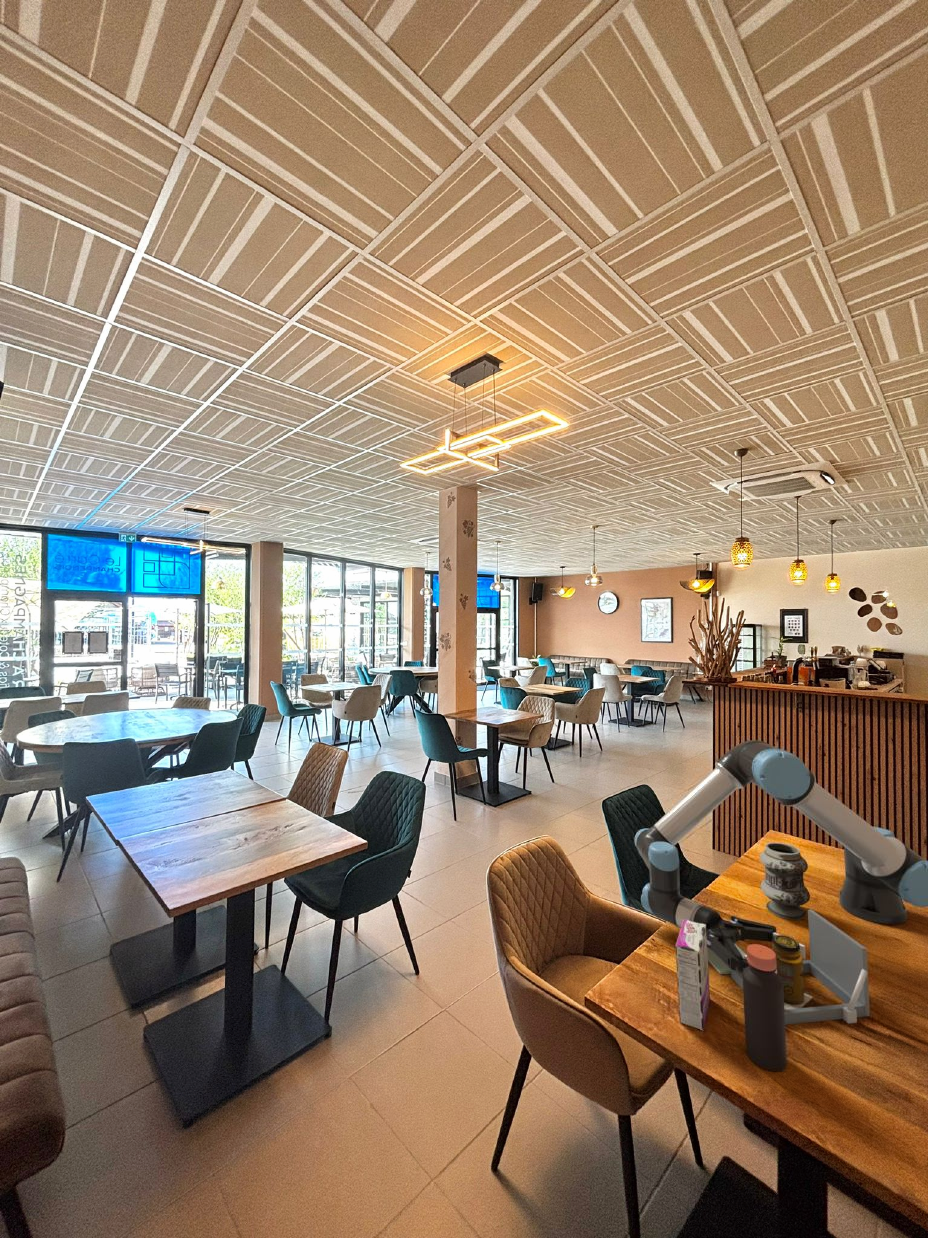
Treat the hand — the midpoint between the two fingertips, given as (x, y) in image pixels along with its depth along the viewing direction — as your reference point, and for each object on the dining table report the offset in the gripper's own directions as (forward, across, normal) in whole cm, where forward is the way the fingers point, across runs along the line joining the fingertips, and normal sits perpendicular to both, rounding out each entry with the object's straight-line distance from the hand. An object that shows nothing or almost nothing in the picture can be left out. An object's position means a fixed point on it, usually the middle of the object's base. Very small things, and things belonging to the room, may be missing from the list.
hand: (791, 964), depth 111 cm
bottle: (+4, +20, -8) cm, 22 cm away
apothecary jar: (-17, -37, -8) cm, 41 cm away
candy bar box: (-11, +20, -8) cm, 24 cm away
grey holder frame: (-1, -2, -8) cm, 8 cm away
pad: (-16, -3, -8) cm, 18 cm away
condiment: (-2, 0, -8) cm, 8 cm away
